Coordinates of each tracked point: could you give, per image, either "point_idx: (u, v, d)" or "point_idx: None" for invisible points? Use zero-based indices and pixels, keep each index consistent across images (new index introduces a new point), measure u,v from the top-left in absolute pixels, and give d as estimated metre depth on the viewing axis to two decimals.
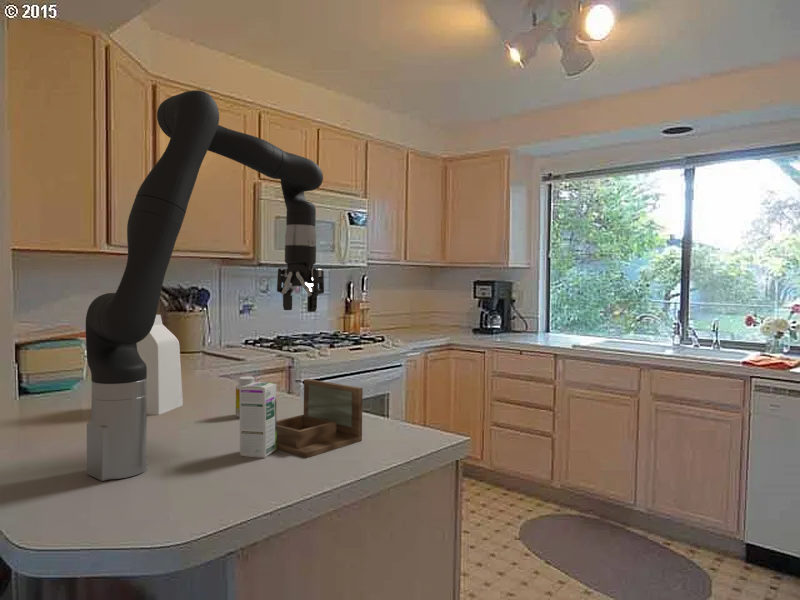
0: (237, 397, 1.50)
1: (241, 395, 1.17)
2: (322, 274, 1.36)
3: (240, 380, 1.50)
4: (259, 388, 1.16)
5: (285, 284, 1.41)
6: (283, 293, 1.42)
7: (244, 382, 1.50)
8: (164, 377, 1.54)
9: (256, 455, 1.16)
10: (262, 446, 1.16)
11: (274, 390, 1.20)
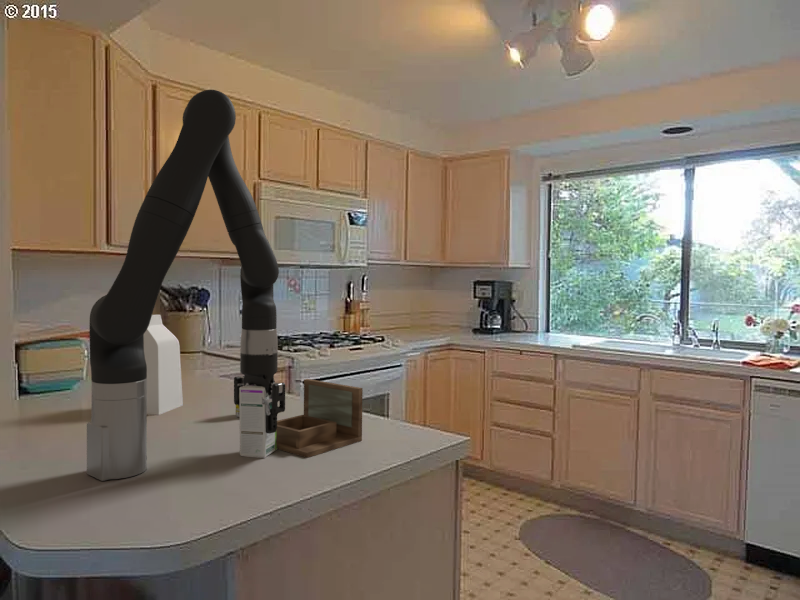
0: None
1: (241, 395, 1.17)
2: (283, 390, 1.15)
3: None
4: (259, 388, 1.16)
5: None
6: None
7: None
8: (164, 377, 1.54)
9: (256, 455, 1.16)
10: (262, 446, 1.16)
11: None
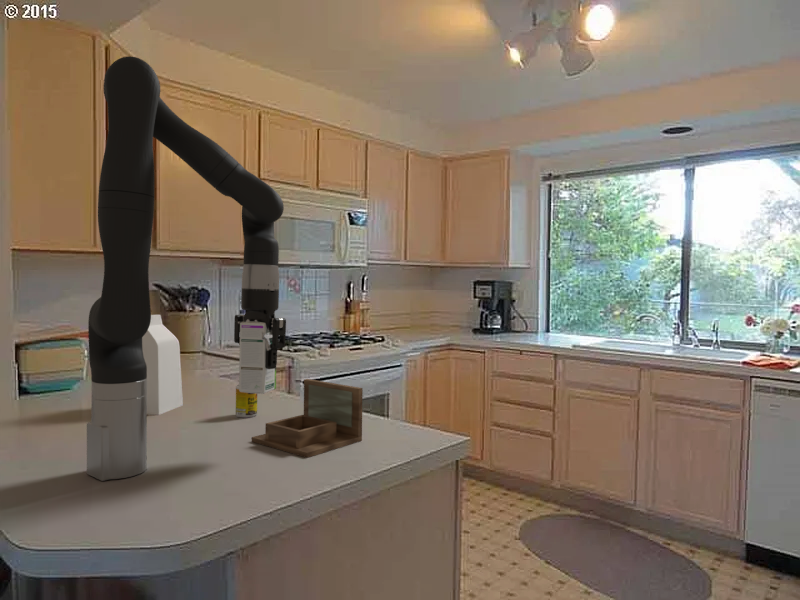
0: (237, 397, 1.50)
1: (241, 330, 1.16)
2: (284, 325, 1.15)
3: None
4: (260, 323, 1.15)
5: None
6: None
7: None
8: (164, 377, 1.54)
9: (255, 391, 1.16)
10: (261, 382, 1.15)
11: None
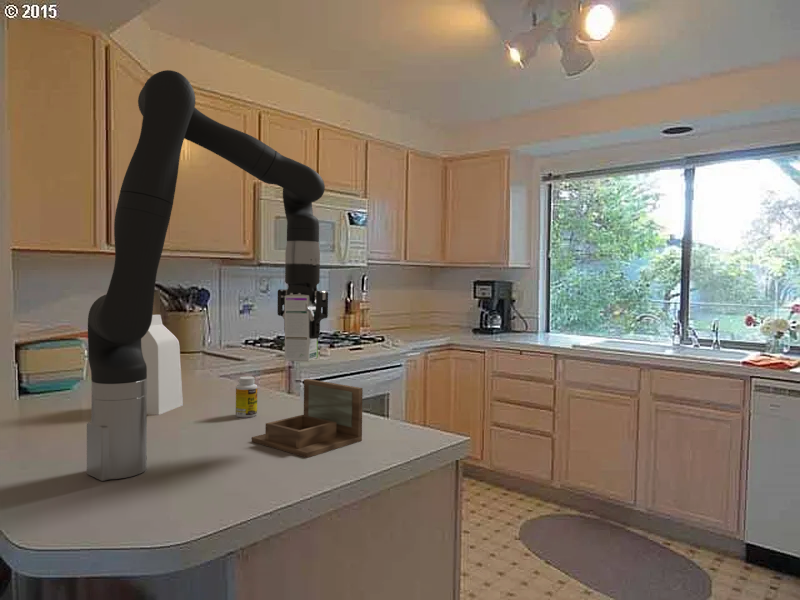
0: (237, 397, 1.50)
1: (286, 303, 1.24)
2: (326, 297, 1.23)
3: (240, 380, 1.50)
4: (303, 296, 1.23)
5: None
6: (284, 317, 1.28)
7: (244, 382, 1.50)
8: (164, 377, 1.54)
9: (300, 359, 1.24)
10: (306, 350, 1.23)
11: None
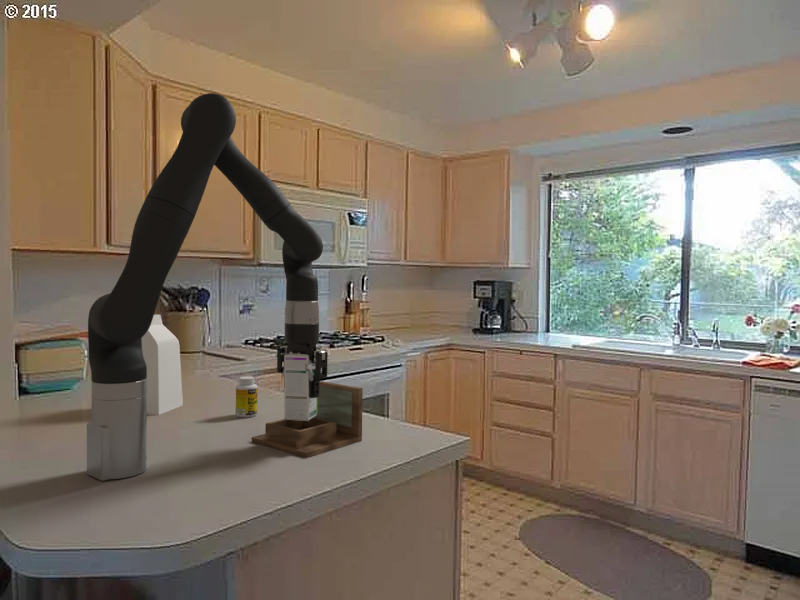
0: (237, 397, 1.50)
1: (286, 362, 1.25)
2: (326, 357, 1.23)
3: (240, 380, 1.50)
4: (303, 356, 1.24)
5: None
6: None
7: (244, 382, 1.50)
8: (164, 377, 1.54)
9: (300, 418, 1.24)
10: (306, 410, 1.24)
11: None
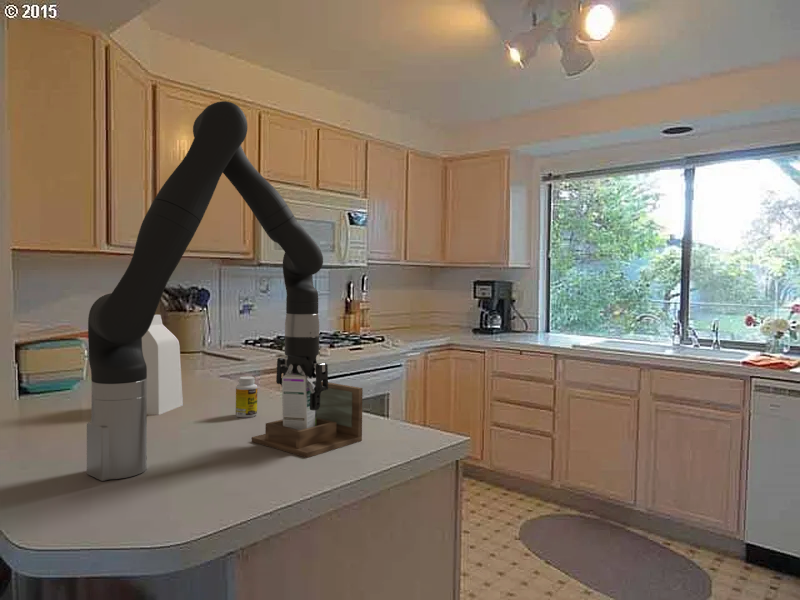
0: (237, 397, 1.50)
1: (283, 384, 1.25)
2: (326, 369, 1.23)
3: (240, 380, 1.50)
4: (300, 377, 1.24)
5: None
6: None
7: (244, 382, 1.50)
8: (164, 377, 1.54)
9: None
10: None
11: None
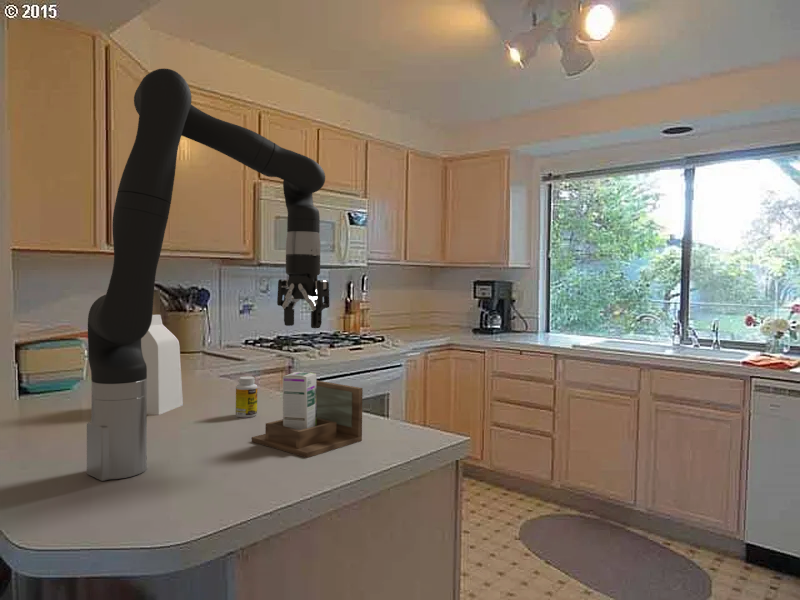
0: (237, 397, 1.50)
1: (284, 383, 1.25)
2: (327, 286, 1.23)
3: (240, 380, 1.50)
4: (301, 377, 1.24)
5: (286, 297, 1.27)
6: (284, 307, 1.28)
7: (244, 382, 1.50)
8: (164, 377, 1.54)
9: None
10: None
11: (314, 379, 1.28)
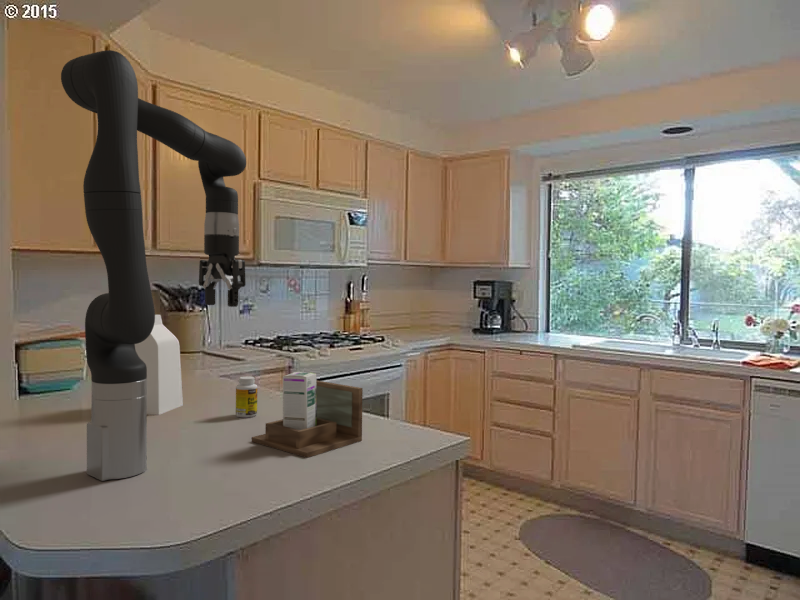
0: (237, 397, 1.50)
1: (284, 383, 1.25)
2: (243, 266, 1.26)
3: (240, 380, 1.50)
4: (301, 377, 1.24)
5: (206, 277, 1.30)
6: (205, 287, 1.31)
7: (244, 382, 1.50)
8: (164, 377, 1.54)
9: None
10: None
11: (314, 379, 1.28)
